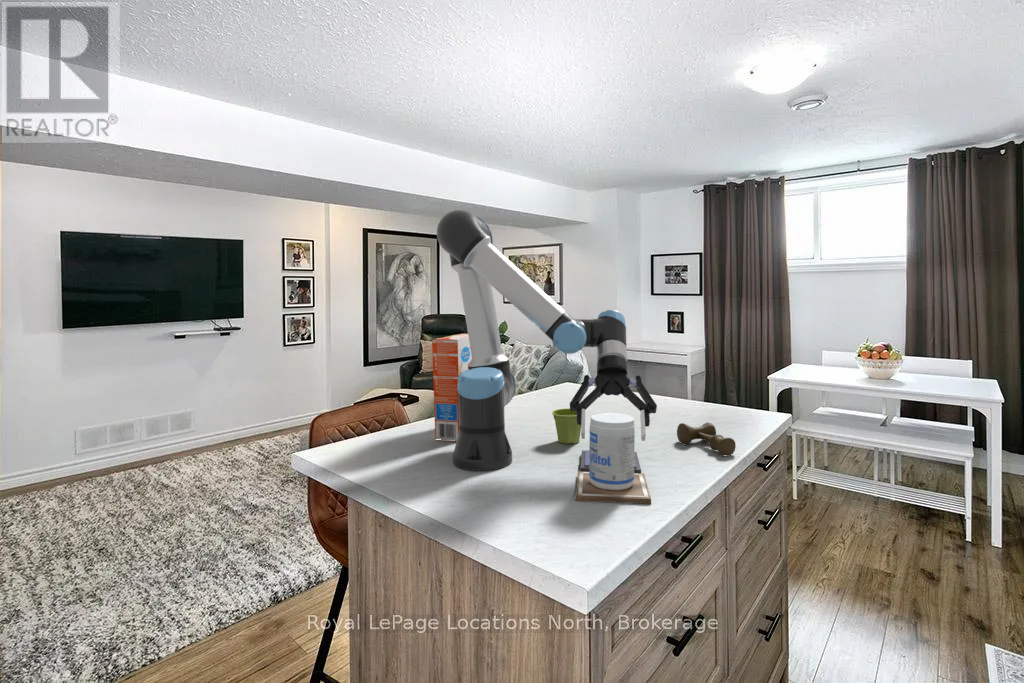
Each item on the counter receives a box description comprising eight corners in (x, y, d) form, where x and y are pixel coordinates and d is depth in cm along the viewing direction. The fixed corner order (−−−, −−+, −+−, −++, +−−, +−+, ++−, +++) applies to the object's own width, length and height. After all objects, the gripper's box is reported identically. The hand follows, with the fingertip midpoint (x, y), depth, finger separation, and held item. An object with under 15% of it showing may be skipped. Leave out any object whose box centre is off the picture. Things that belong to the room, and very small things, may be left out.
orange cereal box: (460, 441, 151) (457, 339, 149) (435, 440, 154) (431, 339, 151) (487, 423, 173) (484, 333, 171) (464, 421, 175) (462, 333, 173)
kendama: (711, 460, 132) (668, 438, 151) (743, 457, 134) (697, 436, 153) (713, 437, 131) (669, 417, 150) (745, 435, 134) (698, 416, 153)
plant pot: (576, 448, 143) (576, 417, 142) (546, 443, 148) (546, 413, 147) (590, 439, 151) (590, 410, 150) (561, 435, 156) (561, 407, 155)
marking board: (578, 475, 121) (578, 471, 121) (644, 477, 118) (644, 473, 118) (575, 500, 106) (575, 495, 106) (651, 503, 104) (651, 498, 104)
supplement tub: (581, 485, 112) (580, 418, 110) (602, 473, 119) (602, 410, 118) (622, 495, 106) (621, 424, 104) (642, 482, 113) (642, 415, 112)
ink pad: (581, 454, 136) (581, 448, 136) (636, 456, 134) (636, 450, 134) (580, 472, 123) (580, 466, 123) (641, 474, 120) (641, 468, 120)
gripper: (661, 371, 132) (668, 446, 119) (563, 370, 136) (559, 443, 123) (664, 353, 126) (671, 430, 113) (561, 353, 131) (557, 427, 118)
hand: (612, 437), depth 118 cm, fingers open, 13 cm apart
